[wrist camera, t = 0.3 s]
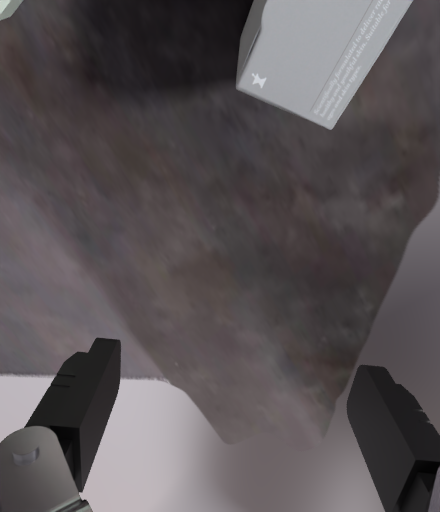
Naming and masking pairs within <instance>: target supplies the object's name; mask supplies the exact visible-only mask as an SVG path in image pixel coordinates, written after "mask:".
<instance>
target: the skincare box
mask: <svg viewBox="0 0 440 512" xmlns="http://www.w3.org/2000/svg"><path fill="white" fill-rule="evenodd" d="M412 1H413V0H254V1H253V4H252V7H251V9H250V12H249V15H248V18H247V21H246V23H245V26H244V29H243V32H242V35H241V37H240V48H239V57H238V66H237V77H236V89H237V90H239V91H241V92H244V93H246V94H248V95H250V96H253V97H255V98H257V99H259V100H262V101H264V102H266V103H269V104H271V105H273V106H276V107H278V108H280V109H282V110H285V111H287V112H289V113H292V114H294V115H297V116H299V117H301V118H304V119H306V120H308V121H311V122H313V123H315V124H318V125H320V126H322V127H324V128H327V129H329V130H331V129H332V128H333V127H334V125H335V124H336V122H337V120H338V119H339V117H340V116H341V114H342V113H343V111H344V110H345V108H346V106H347V105H348V103H349V102H350V100H351V99H352V97H353V95H354V94H355V92H356V91H357V89H358V88H359V86H360V84H361V83H362V81H363V80H364V78H365V77H366V75H367V73H368V72H369V70H370V69H371V67H372V66H373V64H374V62H375V61H376V59H377V58H378V56H379V55H380V53H381V51H382V50H383V48H384V46H385V45H386V43H387V42H388V40H389V38H390V37H391V35H392V33H393V32H394V30H395V29H396V27H397V25H398V24H399V22H400V20H401V19H402V17H403V16H404V14H405V12H406V11H407V9H408V7H409V6H410V4H411V3H412Z"/></svg>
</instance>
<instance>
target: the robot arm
mask: <svg viewBox="0 0 440 512" xmlns="http://www.w3.org/2000/svg"><path fill="white" fill-rule="evenodd" d="M120 364H121V342H120V340H116V339H106V338H96V339H95V341H94V343H93V345H92V346H91V348H90V350H89V352H88V353H85V352H76V353H75V354H74V355H73V356H71V357H70V358H69V359H67V360H66V361H65V362H64V363H63V365H62V366H61V368H60V370H59V371H58V373H57V376H55V378H54V380H53V381H52V383H51V386H50V387H49V388H48V389H47V391H46V393H45V395H44V396H43V398H42V399H41V401H40V403H39V404H38V406H37V408H36V409H35V411H34V412H33V414H32V416H31V417H30V419H29V421H28V422H27V424H26V426H25V427H24V428H23V429H20V430H18V431H15V432H13V433H12V434H10V435H9V436H7V437H6V438H5V439H4V440H3V441H2V442H1V443H0V512H93V511H92V509H91V507H90V505H89V503H88V501H87V500H83V501H82V499H81V497H80V495H79V493H78V492H83V489H84V486H85V483H86V481H87V478H88V475H89V472H90V470H91V467H92V464H93V461H94V458H95V455H96V453H97V450H98V447H99V445H100V441H101V439H102V436H103V433H104V431H105V428H106V425H107V422H108V419H109V417H110V414H111V411H112V408H113V405H114V403H115V400H116V397H117V394H118V390H119V384H120ZM347 415H348V419H349V421H350V424H351V427H352V429H353V432H354V434H355V437H356V439H357V442H358V444H359V447H360V449H361V452H362V454H363V457H364V459H365V462H366V464H367V467H368V469H369V472H370V474H371V477H372V479H373V482H374V484H375V487H376V489H377V492H378V494H379V497H380V500H381V502H382V505H383V507H384V509H385V512H440V435H439V434H438V432H437V431H436V429H435V428H434V426H433V425H432V424H430V420H429V418H428V417H427V415H426V414H425V413H424V412H423V409H422V408H421V406H420V405H419V403H418V402H417V400H416V399H415V397H414V396H413V395H412V394H411V393H409V391H408V390H406V389H405V388H404V387H403V386H402V385H401V384H395V382H394V380H393V379H392V377H391V375H390V374H389V372H388V371H387V369H386V368H384V367H379V366H368V365H360V366H359V367H358V369H357V373H356V375H355V378H354V381H353V385H352V388H351V391H350V394H349V397H348V400H347Z"/></svg>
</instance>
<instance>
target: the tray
mask: <svg viewBox="0 0 440 512" xmlns="http://www.w3.org/2000/svg"><path fill="white" fill-rule="evenodd" d="M22 1H23V0H0V20H3V19H5V18H8V17H10V16H12V14H13V13H14V12H15V10H16V9H17V8H18V7H19V5H20V4H21V3H22Z"/></svg>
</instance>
